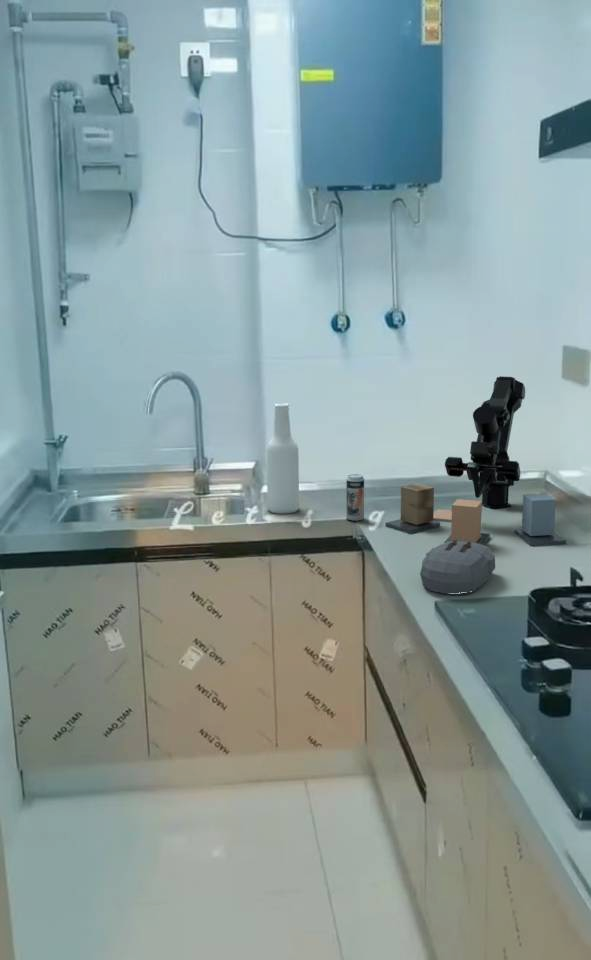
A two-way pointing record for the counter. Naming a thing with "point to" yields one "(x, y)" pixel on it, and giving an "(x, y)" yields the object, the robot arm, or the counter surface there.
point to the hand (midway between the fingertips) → (477, 496)
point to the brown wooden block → (417, 503)
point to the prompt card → (443, 515)
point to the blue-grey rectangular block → (538, 514)
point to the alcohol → (282, 465)
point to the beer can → (355, 497)
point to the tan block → (466, 520)
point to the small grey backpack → (457, 567)
